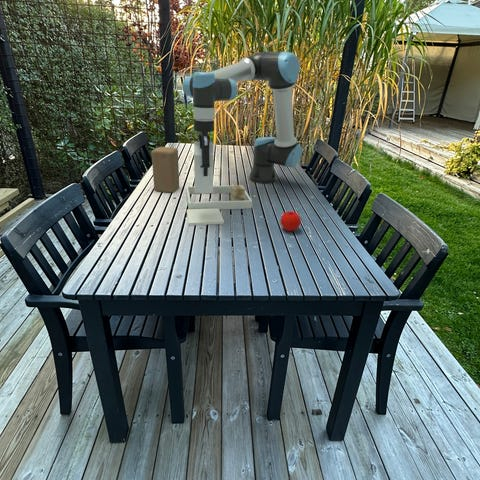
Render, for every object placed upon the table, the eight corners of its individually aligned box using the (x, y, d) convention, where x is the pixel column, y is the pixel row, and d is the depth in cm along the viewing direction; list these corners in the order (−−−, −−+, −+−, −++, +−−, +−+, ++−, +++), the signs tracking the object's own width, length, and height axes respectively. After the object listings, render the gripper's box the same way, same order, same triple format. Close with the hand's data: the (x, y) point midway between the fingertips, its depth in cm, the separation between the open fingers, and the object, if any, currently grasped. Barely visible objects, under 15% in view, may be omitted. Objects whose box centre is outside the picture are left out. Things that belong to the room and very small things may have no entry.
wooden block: (172, 193, 164) (170, 152, 155) (153, 191, 165) (150, 150, 156) (180, 187, 173) (178, 147, 163) (161, 185, 174) (159, 146, 165)
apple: (278, 224, 137) (280, 207, 133) (298, 225, 137) (300, 208, 133) (280, 233, 130) (282, 215, 126) (300, 234, 129) (303, 216, 126)
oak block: (240, 201, 158) (241, 185, 154) (244, 205, 154) (245, 188, 150) (230, 202, 156) (230, 186, 153) (234, 206, 152) (234, 189, 149)
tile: (218, 210, 147) (218, 208, 147) (223, 223, 135) (223, 221, 135) (186, 211, 145) (186, 209, 144) (188, 225, 132) (188, 223, 132)
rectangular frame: (241, 192, 170) (242, 185, 168) (251, 208, 151) (252, 201, 149) (186, 193, 165) (185, 186, 163) (188, 210, 146) (188, 203, 144)
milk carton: (195, 187, 137) (194, 139, 128) (212, 187, 138) (213, 140, 129) (194, 193, 131) (193, 143, 122) (213, 193, 132) (213, 144, 123)
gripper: (191, 115, 130) (192, 173, 141) (195, 123, 112) (196, 189, 123) (210, 115, 132) (210, 173, 142) (218, 124, 114) (217, 188, 124)
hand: (204, 180), depth 132 cm, fingers closed on milk carton, 7 cm apart
